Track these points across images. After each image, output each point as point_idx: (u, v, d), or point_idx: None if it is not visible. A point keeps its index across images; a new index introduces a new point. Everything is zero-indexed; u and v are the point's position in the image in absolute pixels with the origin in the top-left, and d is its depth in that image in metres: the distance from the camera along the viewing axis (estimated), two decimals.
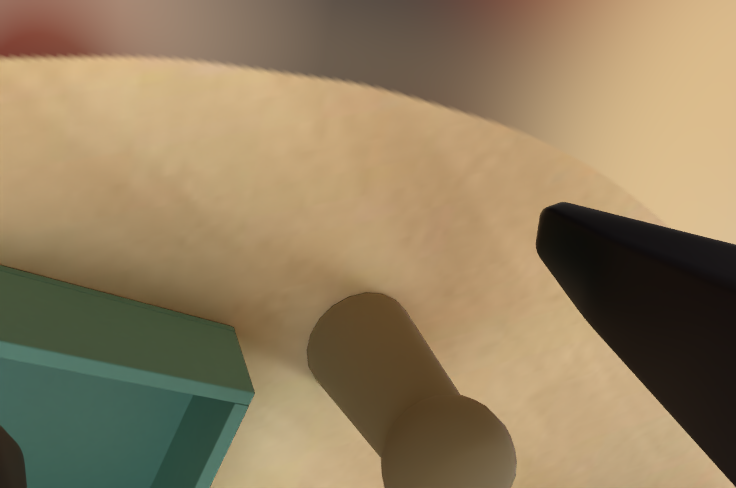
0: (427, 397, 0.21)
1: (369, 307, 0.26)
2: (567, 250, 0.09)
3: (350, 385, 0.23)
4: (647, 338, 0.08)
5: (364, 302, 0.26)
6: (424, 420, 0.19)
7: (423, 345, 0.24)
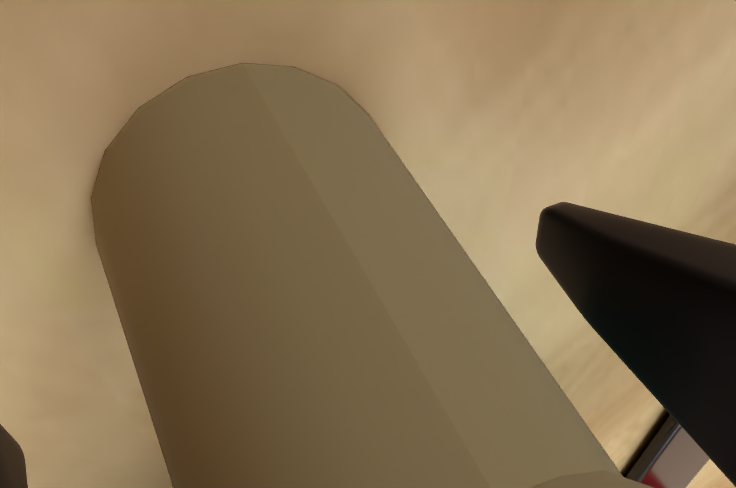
0: None
1: None
2: (567, 250, 0.09)
3: None
4: (647, 338, 0.08)
5: None
6: None
7: (160, 327, 0.06)
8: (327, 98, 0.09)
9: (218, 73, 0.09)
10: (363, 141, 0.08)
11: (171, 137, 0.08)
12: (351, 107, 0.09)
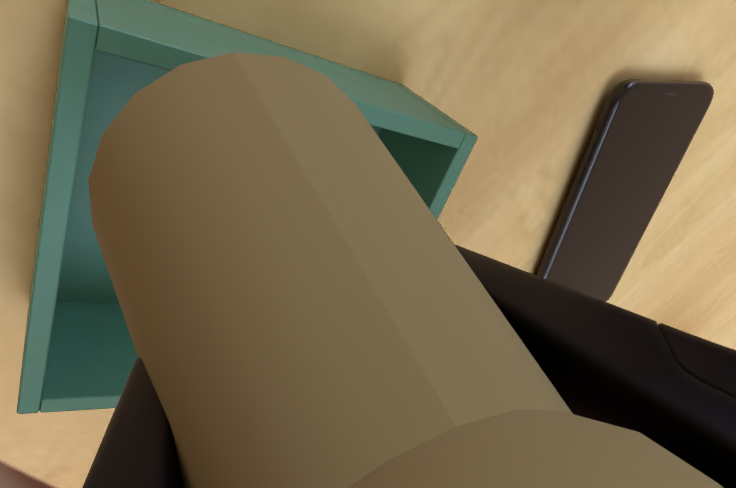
0: None
1: None
2: None
3: None
4: None
5: None
6: None
7: (154, 293, 0.07)
8: (314, 86, 0.09)
9: (210, 61, 0.09)
10: (347, 125, 0.09)
11: (165, 120, 0.08)
12: (337, 95, 0.10)
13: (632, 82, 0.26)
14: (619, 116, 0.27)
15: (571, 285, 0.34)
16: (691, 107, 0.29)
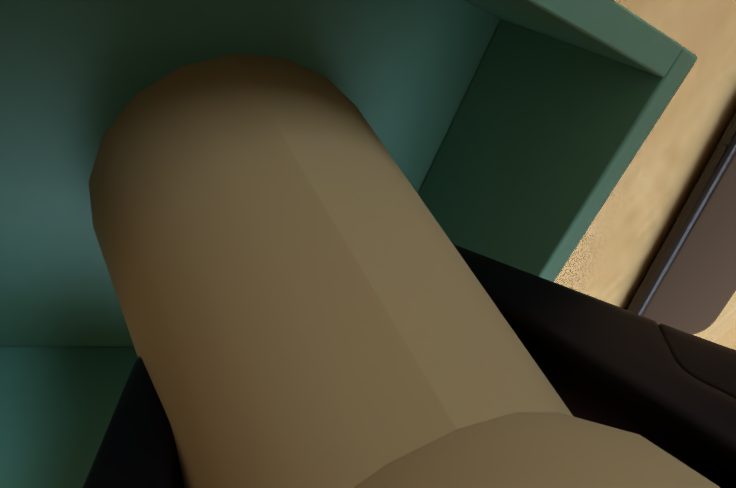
0: None
1: None
2: None
3: None
4: None
5: None
6: None
7: (155, 294, 0.07)
8: (314, 87, 0.09)
9: (211, 63, 0.09)
10: (347, 127, 0.09)
11: (166, 122, 0.08)
12: (337, 96, 0.10)
13: None
14: None
15: (677, 307, 0.26)
16: None
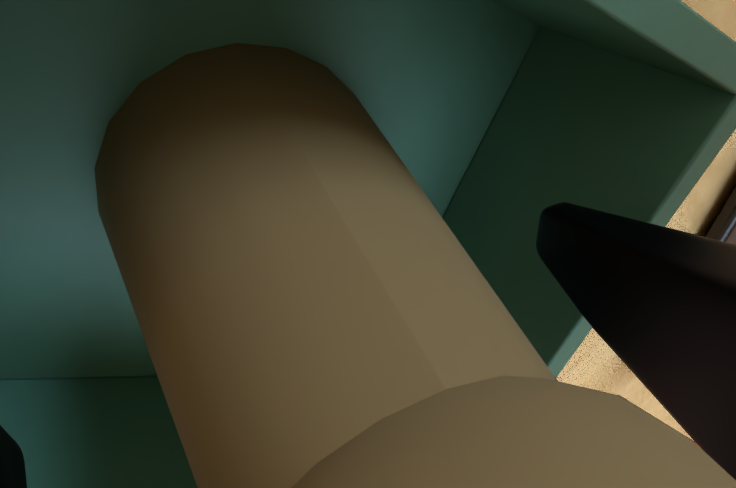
0: None
1: None
2: (567, 250, 0.09)
3: None
4: (647, 338, 0.08)
5: None
6: None
7: (159, 271, 0.07)
8: (315, 76, 0.10)
9: (214, 51, 0.09)
10: (347, 113, 0.09)
11: (170, 107, 0.08)
12: (337, 85, 0.10)
13: None
14: None
15: None
16: None
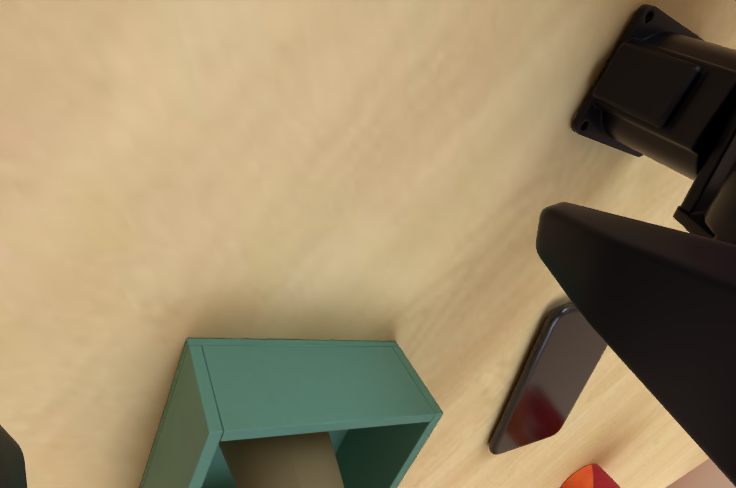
0: None
1: None
2: (567, 250, 0.09)
3: None
4: (647, 338, 0.08)
5: None
6: None
7: None
8: None
9: None
10: None
11: None
12: None
13: (564, 309, 0.35)
14: (555, 330, 0.36)
15: (526, 429, 0.43)
16: None
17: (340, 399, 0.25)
